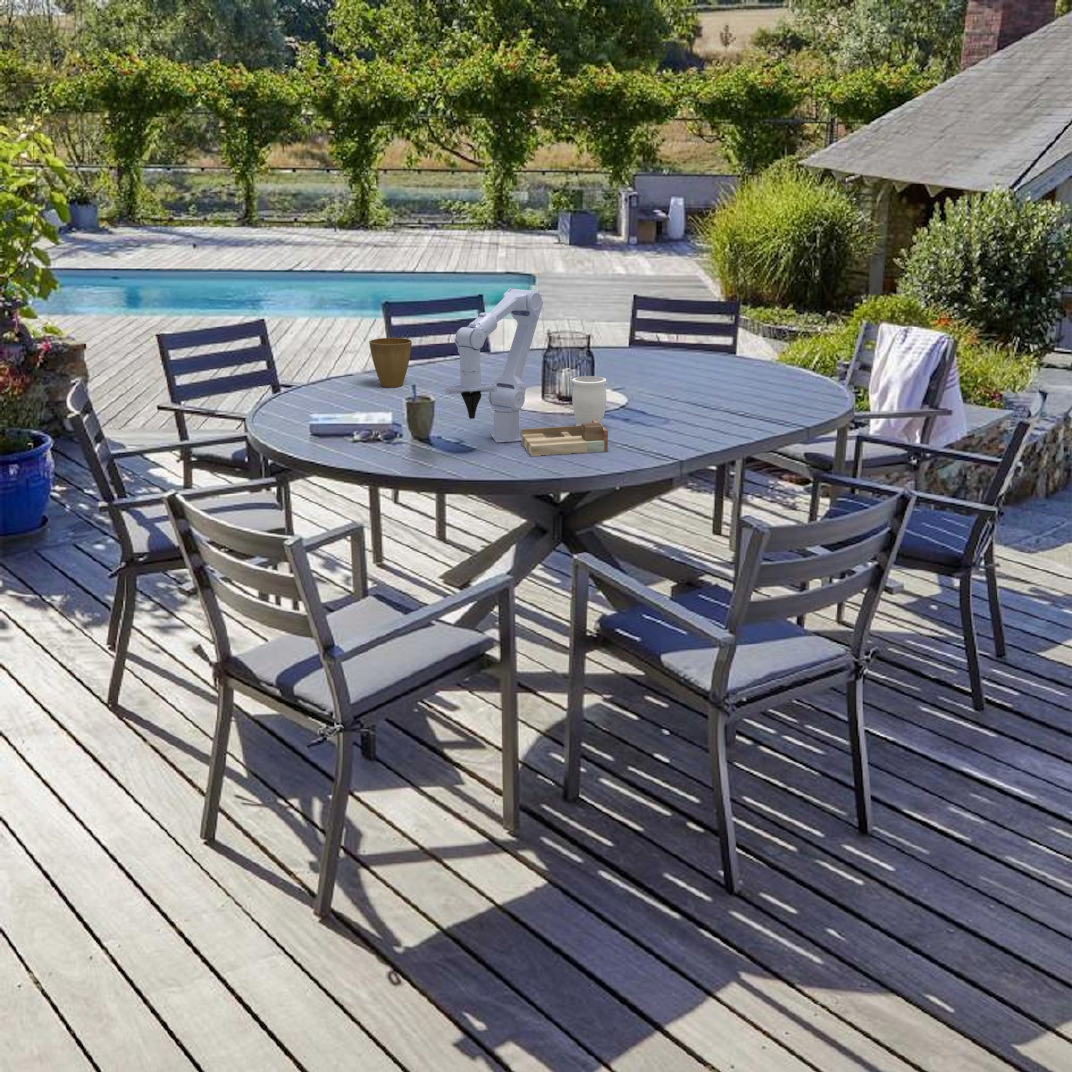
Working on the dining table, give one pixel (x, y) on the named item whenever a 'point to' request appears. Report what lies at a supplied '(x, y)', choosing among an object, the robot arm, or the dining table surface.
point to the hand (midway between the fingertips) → (471, 417)
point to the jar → (589, 399)
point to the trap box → (561, 441)
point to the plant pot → (391, 359)
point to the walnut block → (592, 431)
